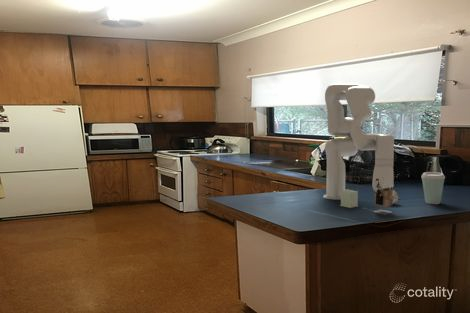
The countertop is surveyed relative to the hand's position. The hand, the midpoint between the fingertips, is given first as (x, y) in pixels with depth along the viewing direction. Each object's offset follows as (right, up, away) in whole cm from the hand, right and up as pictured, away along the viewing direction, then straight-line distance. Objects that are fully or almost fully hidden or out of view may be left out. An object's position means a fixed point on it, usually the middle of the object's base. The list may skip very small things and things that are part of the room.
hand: (383, 203), depth 175 cm
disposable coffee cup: (+33, -3, +22) cm, 40 cm away
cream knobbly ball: (+10, -3, +18) cm, 21 cm away
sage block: (-11, -3, +14) cm, 18 cm away
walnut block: (0, -1, 0) cm, 1 cm away
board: (-6, -4, +8) cm, 10 cm away
